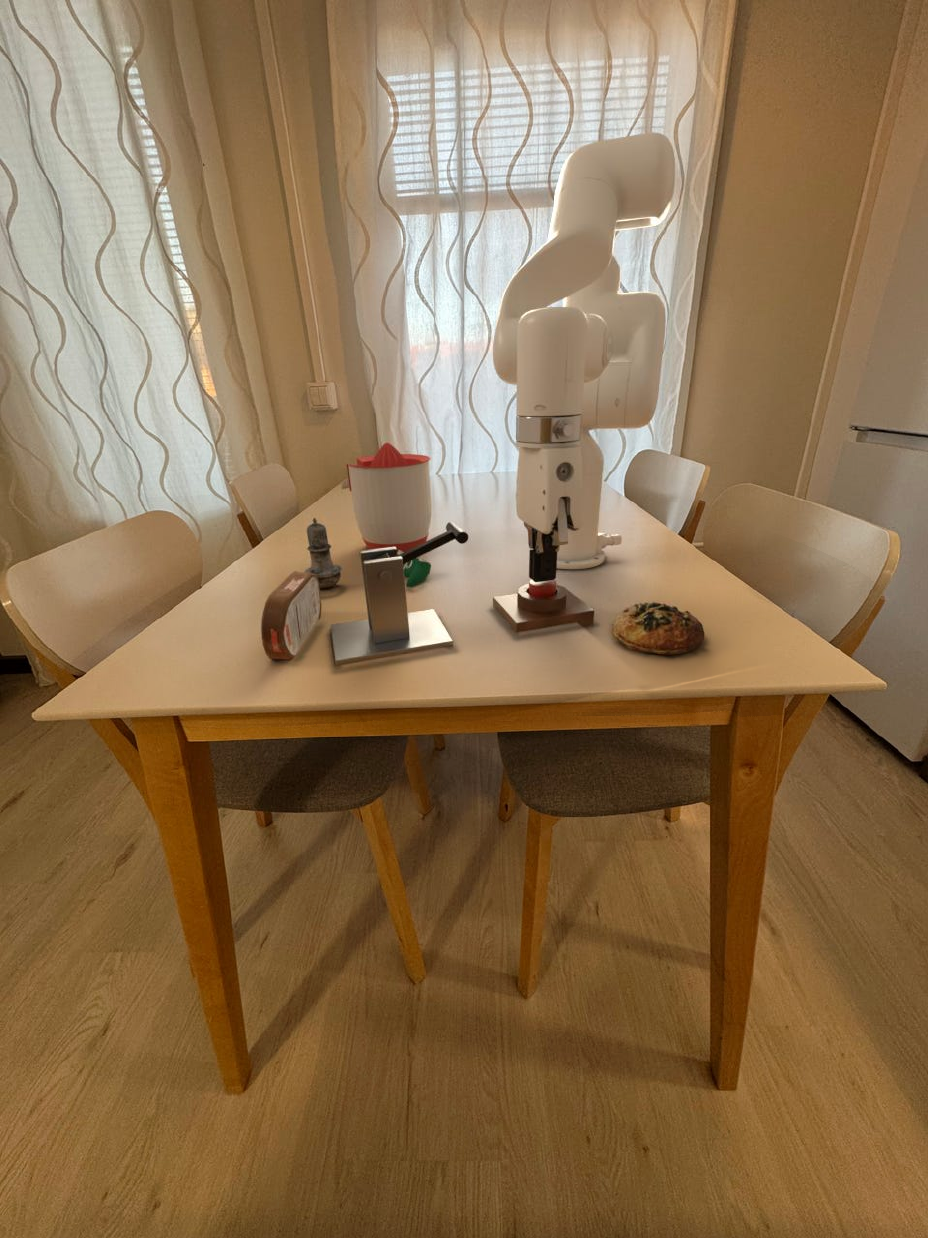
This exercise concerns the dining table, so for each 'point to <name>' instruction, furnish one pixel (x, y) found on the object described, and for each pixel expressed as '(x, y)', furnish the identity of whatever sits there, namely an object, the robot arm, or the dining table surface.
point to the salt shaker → (321, 557)
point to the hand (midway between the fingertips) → (542, 578)
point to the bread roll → (658, 629)
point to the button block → (542, 609)
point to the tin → (290, 615)
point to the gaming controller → (416, 570)
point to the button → (542, 588)
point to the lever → (433, 543)
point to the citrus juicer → (391, 498)
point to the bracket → (386, 616)
